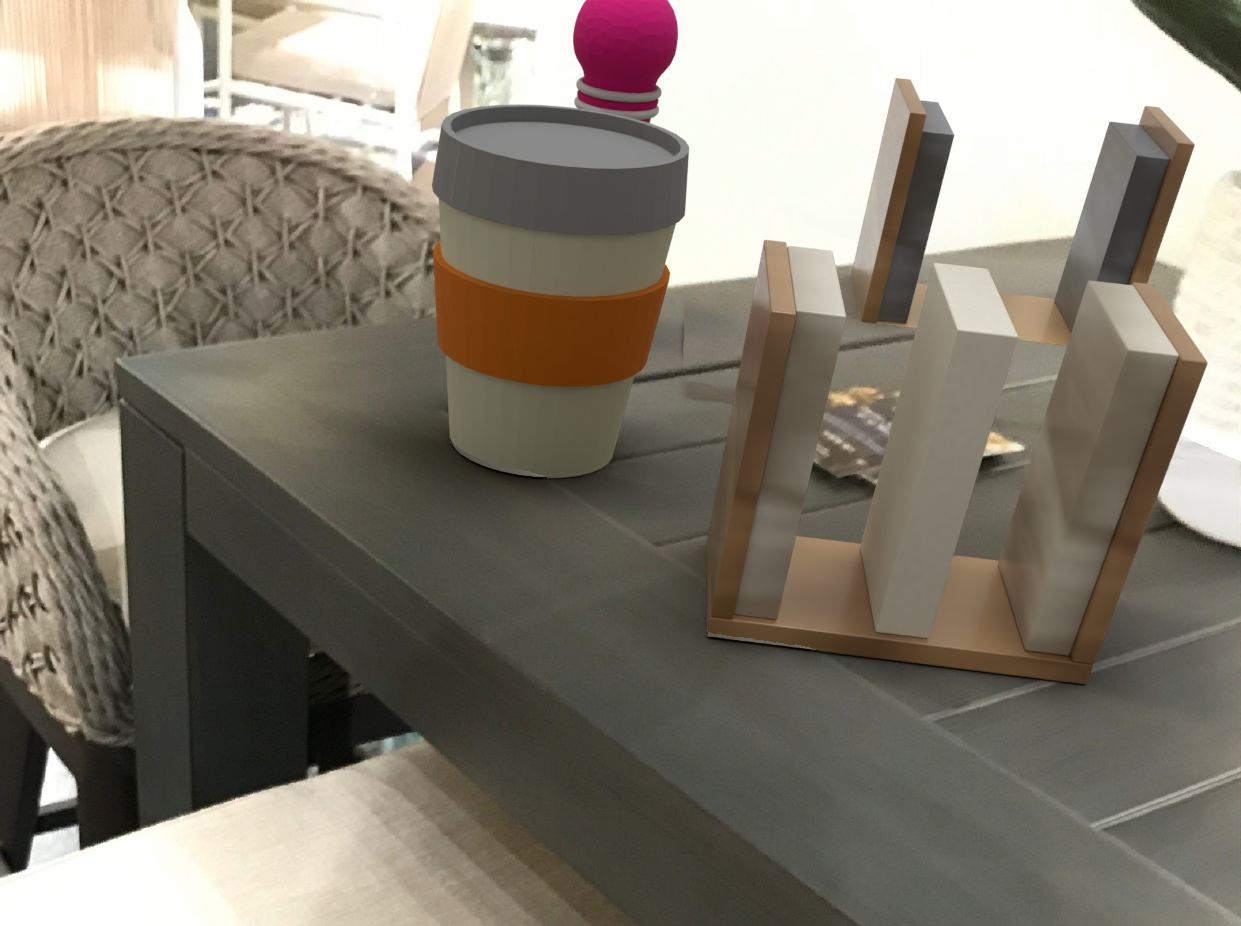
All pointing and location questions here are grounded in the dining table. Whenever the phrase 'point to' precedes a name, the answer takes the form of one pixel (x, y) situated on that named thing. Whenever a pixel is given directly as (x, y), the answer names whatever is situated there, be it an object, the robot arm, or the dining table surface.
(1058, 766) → the dining table surface
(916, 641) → the white rack
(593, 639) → the dining table surface
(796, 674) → the dining table surface
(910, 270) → the grey rack
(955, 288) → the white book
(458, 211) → the reusable coffee cup
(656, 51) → the pepper mill
